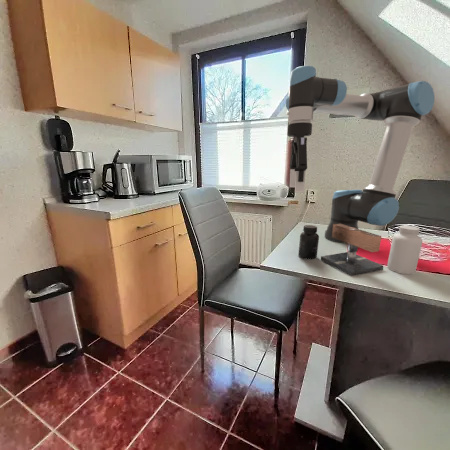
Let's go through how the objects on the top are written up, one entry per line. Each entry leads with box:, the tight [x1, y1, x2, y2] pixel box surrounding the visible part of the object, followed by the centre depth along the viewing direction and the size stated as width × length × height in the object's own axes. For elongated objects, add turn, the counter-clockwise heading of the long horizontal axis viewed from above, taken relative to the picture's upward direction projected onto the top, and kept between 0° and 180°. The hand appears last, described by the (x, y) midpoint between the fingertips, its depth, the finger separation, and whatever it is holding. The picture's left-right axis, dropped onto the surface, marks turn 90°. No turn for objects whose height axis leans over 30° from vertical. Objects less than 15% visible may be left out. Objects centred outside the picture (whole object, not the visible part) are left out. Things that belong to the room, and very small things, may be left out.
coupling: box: [332, 223, 382, 253], centre depth 85 cm, size 3×17×8 cm, turn 20°
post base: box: [320, 250, 384, 277], centre depth 87 cm, size 14×14×5 cm
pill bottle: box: [386, 224, 423, 275], centre depth 82 cm, size 8×8×15 cm
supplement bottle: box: [298, 224, 320, 260], centre depth 93 cm, size 7×7×12 cm
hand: (296, 189), depth 84 cm, fingers open, 13 cm apart
